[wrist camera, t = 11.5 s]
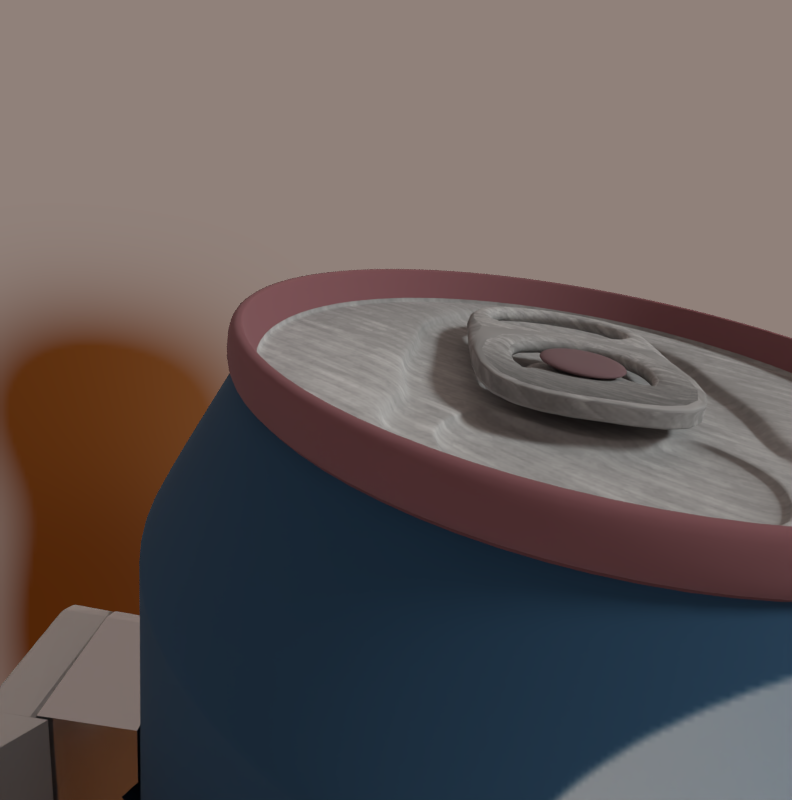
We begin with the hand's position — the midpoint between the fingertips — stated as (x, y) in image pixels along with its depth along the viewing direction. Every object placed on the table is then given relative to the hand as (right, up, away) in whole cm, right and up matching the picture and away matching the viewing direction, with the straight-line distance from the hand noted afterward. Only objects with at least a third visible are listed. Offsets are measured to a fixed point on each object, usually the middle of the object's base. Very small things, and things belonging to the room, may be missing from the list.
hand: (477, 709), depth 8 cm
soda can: (-1, -7, +2) cm, 7 cm away
